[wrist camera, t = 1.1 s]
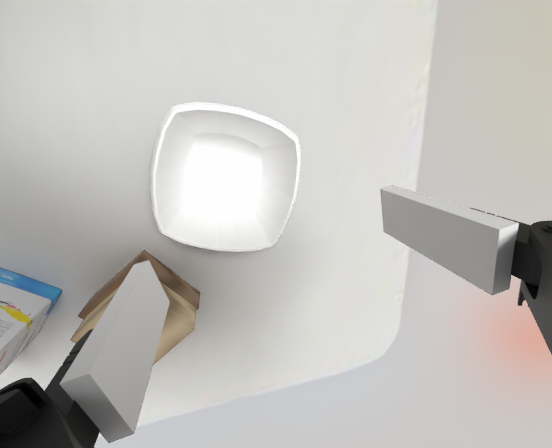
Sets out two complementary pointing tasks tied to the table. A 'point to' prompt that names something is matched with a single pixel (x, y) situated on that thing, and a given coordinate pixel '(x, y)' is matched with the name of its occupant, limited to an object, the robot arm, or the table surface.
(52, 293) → the ink box
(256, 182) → the bowl
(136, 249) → the table surface
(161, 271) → the tower base
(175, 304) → the tower top
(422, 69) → the table surface
